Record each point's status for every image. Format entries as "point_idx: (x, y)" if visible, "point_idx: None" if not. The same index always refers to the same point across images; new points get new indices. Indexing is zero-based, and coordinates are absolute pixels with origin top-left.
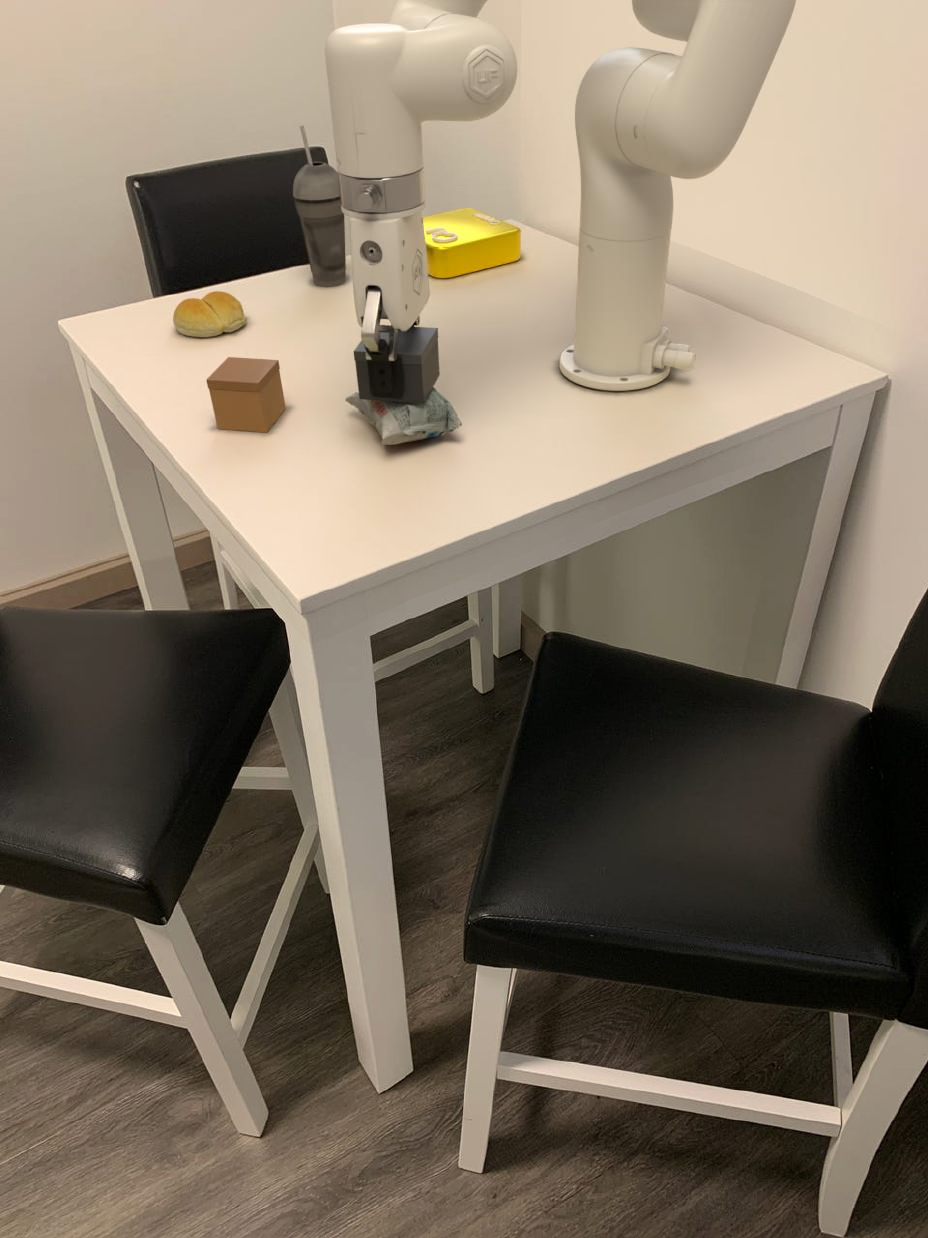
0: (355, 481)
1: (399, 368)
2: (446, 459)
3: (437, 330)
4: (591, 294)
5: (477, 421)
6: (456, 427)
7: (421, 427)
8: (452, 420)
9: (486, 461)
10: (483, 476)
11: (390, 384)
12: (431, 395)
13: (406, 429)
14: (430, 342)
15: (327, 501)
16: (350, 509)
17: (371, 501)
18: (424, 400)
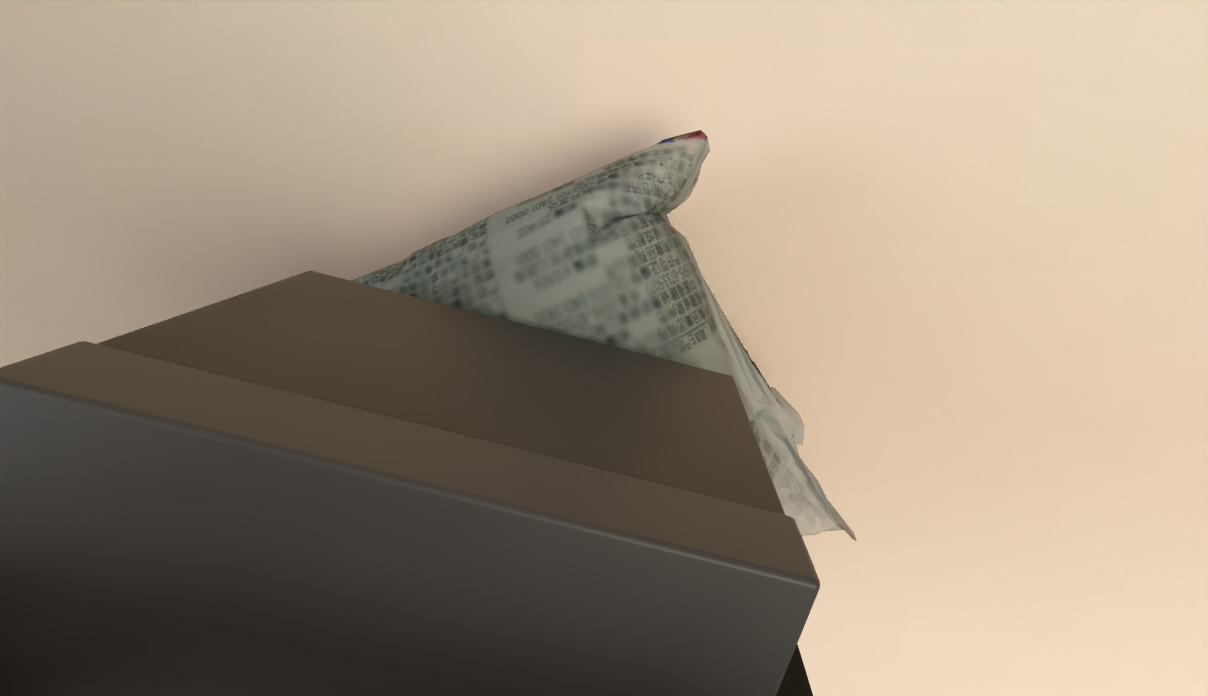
0: (929, 573)
1: (792, 688)
2: (815, 214)
3: (26, 372)
4: None
5: (446, 49)
6: (701, 162)
7: (735, 354)
8: (682, 184)
9: (870, 10)
10: (1017, 31)
11: (800, 665)
12: (568, 322)
13: (766, 430)
14: (388, 459)
15: (1054, 658)
16: (1138, 585)
17: (1101, 516)
18: (721, 376)
